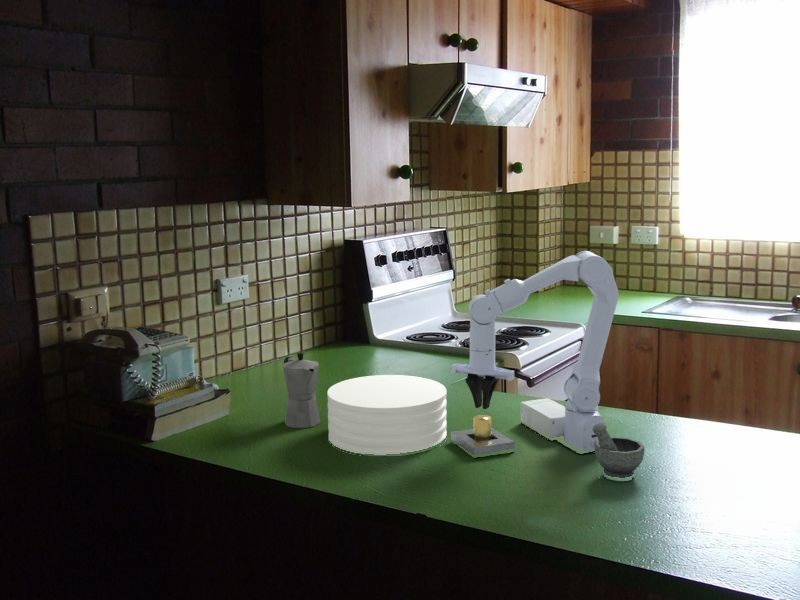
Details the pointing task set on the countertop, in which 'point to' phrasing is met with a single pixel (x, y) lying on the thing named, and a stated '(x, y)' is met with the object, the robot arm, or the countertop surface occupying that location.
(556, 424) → the skincare box
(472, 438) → the jig
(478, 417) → the cylinder
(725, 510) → the countertop surface
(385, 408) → the plate stack
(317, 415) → the coffeepot
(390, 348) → the countertop surface
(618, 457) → the mortar and pestle
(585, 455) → the countertop surface
